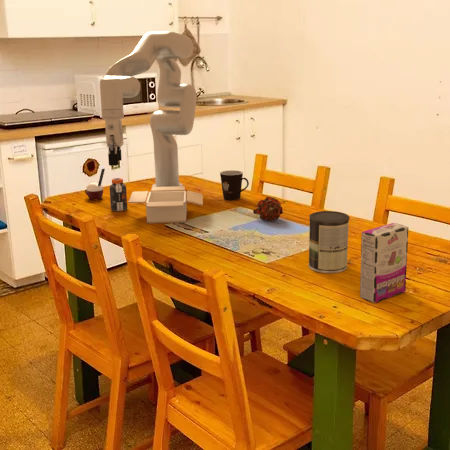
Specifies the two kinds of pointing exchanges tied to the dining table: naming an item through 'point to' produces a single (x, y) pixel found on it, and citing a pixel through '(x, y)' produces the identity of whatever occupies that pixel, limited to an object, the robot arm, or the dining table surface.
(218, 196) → the dining table surface
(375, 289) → the candy bar box
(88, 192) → the cocoa
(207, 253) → the dining table surface
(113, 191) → the pill bottle
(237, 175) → the coffee mug
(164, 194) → the carton
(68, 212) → the dining table surface
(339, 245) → the coffee can
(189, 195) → the flap
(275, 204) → the dark red rounded piece
